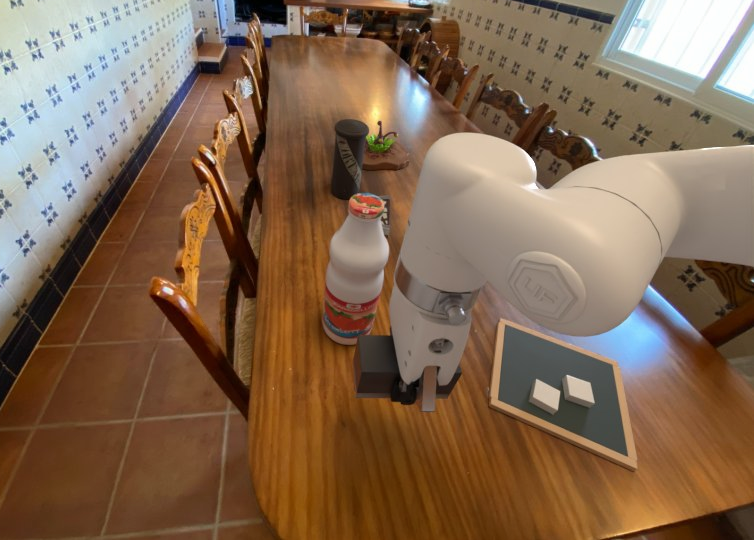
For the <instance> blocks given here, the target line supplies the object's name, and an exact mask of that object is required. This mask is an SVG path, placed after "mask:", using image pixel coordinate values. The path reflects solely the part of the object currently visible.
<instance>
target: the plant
mask: <svg viewBox="0 0 754 540" xmlns="http://www.w3.org/2000/svg"><path fill="white" fill-rule="evenodd" d="M382 122H383V121H382V120H378V121H377V123H376V125H377V126H379V128H378V129H379V130H378V134H377V135H375V134H374V133H372V134H371V136H370V135H367V136H366V141H365V148H364V157H363V165H362V170H364V171H380V170H381V171H382V170H384V171H385V170H390V171H398V170H402V169H404V168H406V167H408V166H410V161H411V160H410V158H409V155H410V153H409V151H408V150H407V149H406V148H405V147H404V146H403V144H402V143H401V142H400V141H398V140H396V138H398V137H399V133H398V132H396V131H389V132H387V133H386V134H383V124H382ZM392 134H393V137H394V138H389V137H388V136H389V135H392Z"/></svg>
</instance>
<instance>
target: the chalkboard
mask: <svg viewBox="0 0 754 540" xmlns="http://www.w3.org/2000/svg"><path fill="white" fill-rule="evenodd" d="M495 329H496V330H495V336H494V337H495V339H494V347H493V354H492V362H491V363H492V364H491V372H490V381H489V390H488V398H487V399H488V400H489V401H488V408H491V409H493V410H494V411H498V412H499V413H502V414H505V415H506V416H509V417H511V418H513V419H516V420H517V421H520V422H522V423H524V424H526V425H529V426H531V427H533V428H535V429H537V430H540V431H542V432H545V433H547V434H549V435H551V436H553V437H556V438H558V439H560V440H562V441H565V442H567V443H569V444H571V445H574V446H576V447H578V448H580V449H583V450H585V451H586V452H589V453H591V454H593V455H596V456H598V457H601V458H603V459H605V460H607V461H610V462H612V463H614V464H617V465H618V466H620V467H623V468H625V469H627V470H630V471H631V472H636V471H637V470H639V468H638V461H639V459H638V456H637V455H638V454H637V450H636V444H635V439H634V434H633V430H632V423H631V418H630V412H629V407H628V402H627V397H626V392H625V387H624V380H623V377H622V369H621V367H620V366H619V361H618V360H615V359H612V358H609V357H607V356H604V355H601V354H598V353H596V352H593V351H590V350H588V349H585V348H582V347H581V346H577V345H574V344H573V343H569V342H566V341H563V340H561V339H558V338H556V337H553V336H551V335H547V334H546V333H542V332H541V331H537V330H534V329H532V328H528V327H526V326H524V325H521V324H518V323H516V322H513V321H510V320H508V319H505V318H502V317H500V318H499V319H498V322H497V324H496V328H495ZM566 375H568V376H571V377H574V378H577V379H580V380H583V381H586V382H589V383H590V384H591V388H592V393H593V398H594V402H595V404H593V405H592V406H591V407H590V408H588V407H585V406H582V405H580V404H577V403H574V402H571V401H568V400H565V396H564V390H563V383H562V379H563V378H564V377H565V376H566ZM536 379H538V380H540V381H542V382H544V383H545V384H547V385H549V386H551V387H553V388H555V389H557V390H559V391H560V398H559V405H558V411H556V412H555V413H554V414H553V415H552V414H550V413H549V412H547V411H545V410H543V409H541V408H540V407H538V406H536V405H534V404H532V403H530V402H529V397H530V392H531V388H532V383H533V382H534V381H535V380H536Z"/></svg>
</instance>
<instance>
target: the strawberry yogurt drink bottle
mask: <svg viewBox="0 0 754 540" xmlns="http://www.w3.org/2000/svg"><path fill="white" fill-rule="evenodd" d="M347 205H348V206H347V211H348V214H347V216H346V218H345V220H344V221H343V223H342V225H341V226H340V228H338V230H336V231H335V232H334V234H333V235H332V237H331V239H330V242H329V247H328V252H329V253H328V254H329V261H328V264H327V267H326V271H325V272H326V273H325V282H324V293H323V302H322V303H323V304H322V305H323V306H322V316H321V322H322V328H323V330H324V332H325V334H326V335H327V336H328V338H330V339H331V340H332V341H333V342H335V343H338V344H339V345H344V346H354V345H356V343H357V338H358V335H371V332H372V330H373V327H374V323H375V320H376V319H375V318H376V314H377V310H378V306H379V302H380V298H381V294H382V289H383V286H384V281H385V270H384V268H385V267H386V265H387V263H388V260H389V257H390V245H389V242H388V239H386V238H385V236H384V232H383V228H382V223H381V219H380V218H381V217H382V215H383V212H384V202H383V201H382V199H381V198H379V196H378V195H376V194H373V193H370V192H359V194H355V195H354V196H352V197H351V198H350V199H349V201H348V204H347Z"/></svg>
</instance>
